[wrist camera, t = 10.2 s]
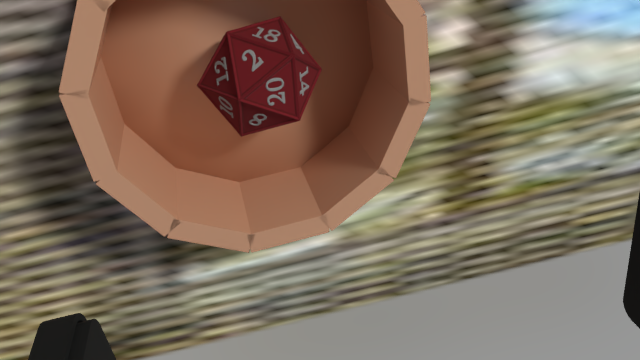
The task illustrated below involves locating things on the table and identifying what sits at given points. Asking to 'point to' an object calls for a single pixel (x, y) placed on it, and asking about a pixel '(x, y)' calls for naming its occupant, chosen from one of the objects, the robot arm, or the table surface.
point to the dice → (260, 77)
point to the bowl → (218, 134)
